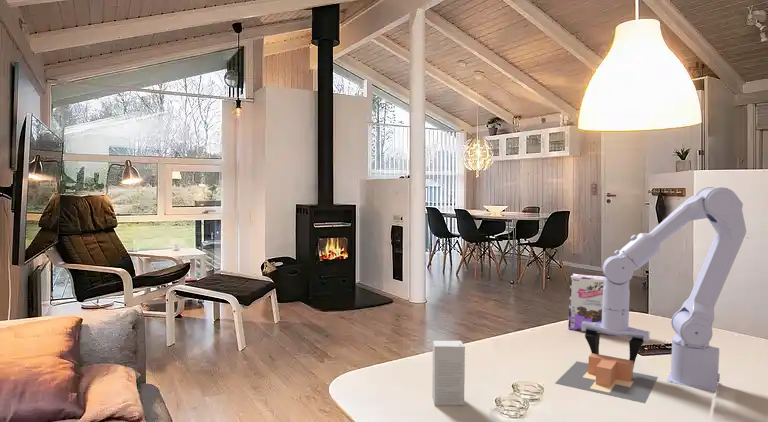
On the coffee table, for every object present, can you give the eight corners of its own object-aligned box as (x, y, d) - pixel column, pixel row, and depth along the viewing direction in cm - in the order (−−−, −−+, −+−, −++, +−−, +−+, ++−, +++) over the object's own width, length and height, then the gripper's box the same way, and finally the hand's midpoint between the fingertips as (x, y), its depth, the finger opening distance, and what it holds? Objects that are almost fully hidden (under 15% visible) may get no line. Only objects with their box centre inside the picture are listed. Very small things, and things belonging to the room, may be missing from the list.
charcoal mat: (657, 379, 124) (657, 376, 124) (644, 405, 109) (644, 403, 109) (576, 363, 134) (576, 361, 134) (554, 385, 119) (554, 383, 119)
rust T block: (632, 378, 123) (633, 360, 122) (625, 390, 115) (626, 372, 115) (591, 369, 128) (591, 353, 127) (581, 381, 120) (582, 363, 120)
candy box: (567, 329, 165) (569, 275, 164) (570, 325, 170) (572, 272, 169) (616, 336, 158) (619, 280, 157) (618, 331, 164) (620, 277, 163)
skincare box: (460, 397, 112) (461, 340, 111) (464, 406, 107) (465, 346, 107) (431, 397, 111) (432, 340, 111) (433, 406, 107) (434, 346, 106)
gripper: (652, 309, 125) (650, 367, 126) (587, 300, 133) (585, 355, 134) (647, 315, 119) (645, 376, 120) (579, 306, 127) (577, 363, 128)
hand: (613, 365), depth 126 cm, fingers open, 7 cm apart
